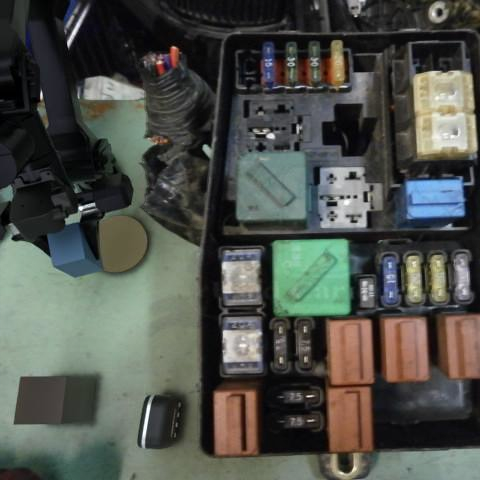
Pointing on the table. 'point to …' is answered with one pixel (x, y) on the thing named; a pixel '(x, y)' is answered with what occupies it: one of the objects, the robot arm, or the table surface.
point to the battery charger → (159, 421)
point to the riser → (54, 400)
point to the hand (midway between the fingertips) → (82, 263)
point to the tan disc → (121, 243)
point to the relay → (73, 251)
